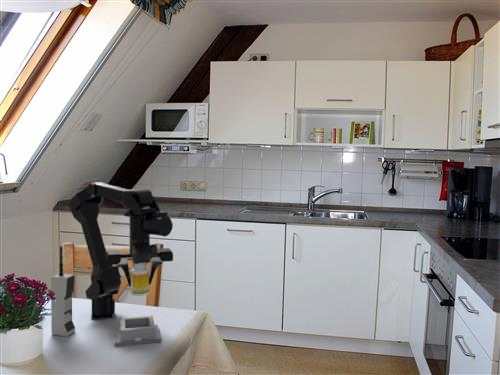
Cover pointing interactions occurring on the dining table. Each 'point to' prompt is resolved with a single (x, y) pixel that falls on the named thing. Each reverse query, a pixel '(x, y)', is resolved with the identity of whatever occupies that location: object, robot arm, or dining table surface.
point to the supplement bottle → (139, 279)
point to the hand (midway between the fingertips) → (139, 285)
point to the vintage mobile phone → (62, 302)
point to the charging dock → (137, 331)
